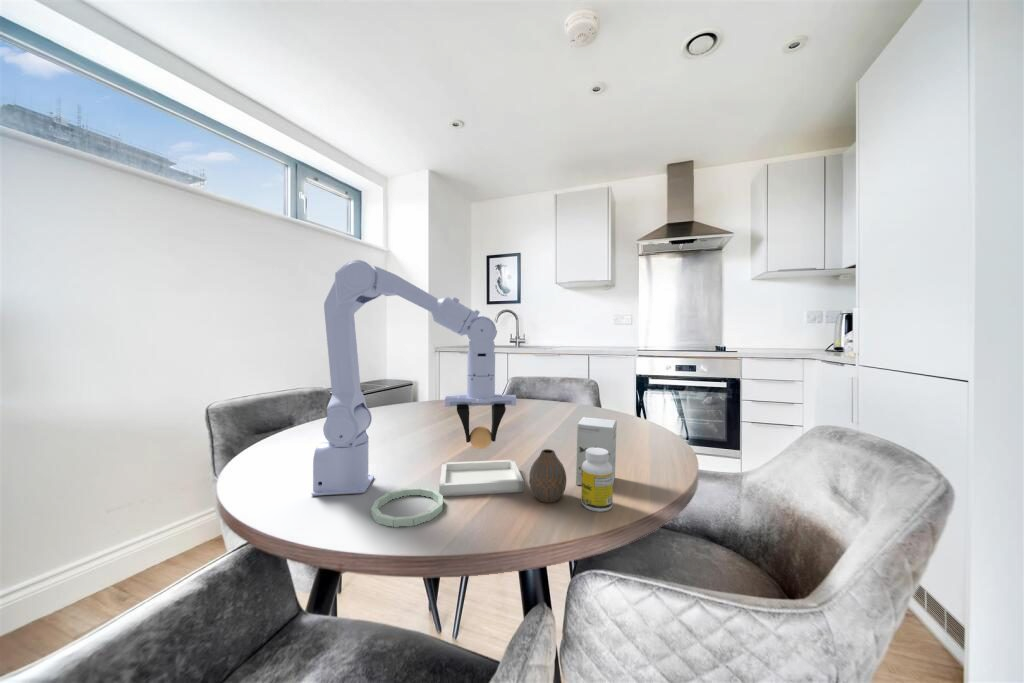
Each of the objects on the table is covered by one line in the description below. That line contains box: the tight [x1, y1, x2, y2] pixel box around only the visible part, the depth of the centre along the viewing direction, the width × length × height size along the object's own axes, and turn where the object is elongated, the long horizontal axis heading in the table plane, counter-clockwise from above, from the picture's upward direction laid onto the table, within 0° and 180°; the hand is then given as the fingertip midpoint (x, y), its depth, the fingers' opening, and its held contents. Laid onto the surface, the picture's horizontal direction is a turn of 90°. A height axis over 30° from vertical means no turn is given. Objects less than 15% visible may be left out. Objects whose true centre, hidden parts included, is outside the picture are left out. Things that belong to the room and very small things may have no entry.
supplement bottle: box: [581, 448, 614, 513], centre depth 63 cm, size 5×5×10 cm
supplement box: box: [575, 416, 618, 487], centre depth 73 cm, size 7×7×13 cm
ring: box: [370, 486, 444, 528], centre depth 61 cm, size 12×12×1 cm
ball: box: [469, 425, 492, 450], centre depth 72 cm, size 5×5×5 cm
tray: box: [438, 459, 525, 497], centre depth 73 cm, size 16×12×2 cm
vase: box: [528, 448, 567, 504], centre depth 65 cm, size 7×7×9 cm
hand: (480, 440), depth 73 cm, fingers closed on ball, 5 cm apart
